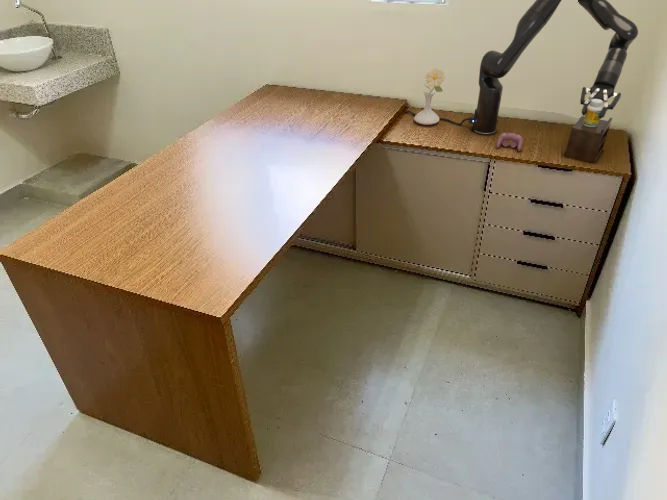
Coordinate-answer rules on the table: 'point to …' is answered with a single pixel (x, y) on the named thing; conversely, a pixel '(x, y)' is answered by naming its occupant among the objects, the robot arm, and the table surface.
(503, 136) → the video game controller
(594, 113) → the supplement bottle
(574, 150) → the dark wooden box
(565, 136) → the table surface
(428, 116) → the flower in vase
